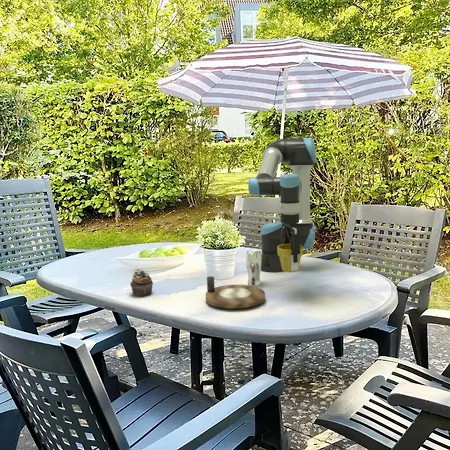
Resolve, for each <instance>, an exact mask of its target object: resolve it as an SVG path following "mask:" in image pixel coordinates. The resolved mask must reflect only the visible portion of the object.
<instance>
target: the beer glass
mask: <svg viewBox="0 0 450 450" xmlns="http://www.w3.org/2000/svg"><path fill="white" fill-rule="evenodd" d="M261 255H262V250H261V251H260V250H255V249H254V250H249V251H246V255H245V263H246V269H247V270H246V271H247V275H248V276H247V277H248V280H247V285H249V286H254V287H260V286H261V285H262V281H261V272H262V270H261V266H262V257H261Z"/></svg>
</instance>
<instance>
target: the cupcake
mask: <svg viewBox="0 0 450 450" xmlns="http://www.w3.org/2000/svg"><path fill="white" fill-rule="evenodd" d="M153 283H154V282H153V280H152V277H151V276H150V273H148V272H144V270H140V271H135V272H134V273H133V274H132V279H131V282H130V287H131V290H132V295H133V296H134V297H137V298H138V297H139V298H141V297H142V298H143V297H147V296H150V295H152V292H153V285H154V284H153Z"/></svg>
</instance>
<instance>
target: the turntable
mask: <svg viewBox="0 0 450 450" xmlns="http://www.w3.org/2000/svg"><path fill="white" fill-rule="evenodd" d="M206 288H207V289H206V290H207V291H206V293H205V302H206V303H208V304H209V305H211V306H213V307H217V308H222V309H223V308H224V309H244V308H251V307H255V306H258V305H260V304H262V303H263V302H264V301H265V300H266V293H265V290H264V289H262V288H260V287H259V286H249V285H248V284H226V285H221V286H219V285H218V286H216V287H215V277H214V276H211V275H210V276H207V277H206Z"/></svg>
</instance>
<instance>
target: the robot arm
mask: <svg viewBox="0 0 450 450" xmlns="http://www.w3.org/2000/svg"><path fill="white" fill-rule="evenodd" d="M316 162H317V151H316V145H315V141H314V139H313V138H311V137H297V138H296V137H295V138H293V137H292V138H279V139H276V140H274V141H273V142H270V144H268V145H267V146H266V147H265V148H264V149H263V152H262V162H261V164H260V166H259V168H258V171H257V173H256V174H257V175H256V176H254V177H250V178H249V179H248V182H247V183H248V184H247V186H248V188H247V189H248V193H249V195H251V196H279V197H280V204H279V208H280V221H275V222H269V223H265V224H264V225H262V226H261V233H260V237H261V257H262V266H261V272H266V273H278V272H280V273H281V272H284V271H283V270H282V267H281V262H280V257H279V256H278V253H277V247H278V246H279V245H282V244H290V245H291V250H292V253H291V254H290V255H291V270H292V271H293V270H297V271H299V269H298V254H300V245H301V246H303V250H311V249H312V248H313V247H314V244H315V238H316V229H317V227H316V225H314V221H313V220H312V219H311V204H310V203H311V169H312V168H313V167H314V163H316ZM282 163H288V166H289V168H290V169H291V171H292V172H291V173H285V174H281V175H280V176H277V177H276V174H277V173H276V172H277V169H278V167H279V164H282Z"/></svg>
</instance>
